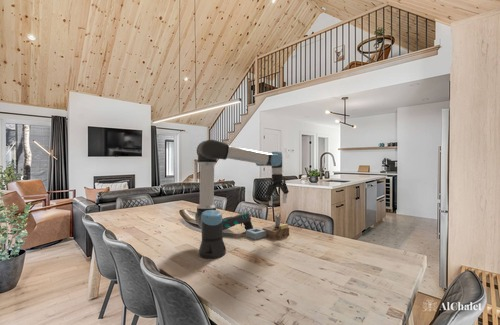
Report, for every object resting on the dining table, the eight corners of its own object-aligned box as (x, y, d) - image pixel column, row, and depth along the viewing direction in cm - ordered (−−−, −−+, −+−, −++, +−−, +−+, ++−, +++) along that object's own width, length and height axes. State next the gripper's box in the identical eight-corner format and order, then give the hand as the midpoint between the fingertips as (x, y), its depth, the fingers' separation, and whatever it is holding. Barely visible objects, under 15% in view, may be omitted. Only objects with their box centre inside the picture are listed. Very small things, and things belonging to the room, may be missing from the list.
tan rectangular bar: (281, 229, 163) (280, 225, 163) (278, 228, 164) (278, 225, 164) (288, 227, 167) (288, 224, 167) (286, 226, 169) (285, 223, 169)
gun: (254, 231, 172) (247, 211, 173) (215, 243, 174) (209, 224, 174) (254, 228, 179) (248, 209, 179) (217, 240, 181) (211, 221, 181)
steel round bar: (277, 235, 167) (277, 216, 167) (274, 234, 169) (274, 215, 169) (281, 234, 169) (281, 216, 169) (277, 233, 172) (277, 215, 171)
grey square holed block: (255, 239, 159) (255, 233, 159) (245, 236, 167) (245, 230, 167) (266, 236, 165) (266, 230, 165) (257, 233, 173) (256, 227, 173)
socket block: (274, 239, 159) (274, 231, 159) (262, 235, 168) (262, 227, 168) (289, 235, 168) (289, 227, 168) (276, 231, 177) (276, 224, 177)
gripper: (267, 175, 158) (268, 207, 158) (293, 172, 173) (293, 202, 174) (260, 174, 164) (260, 205, 164) (285, 172, 179) (286, 201, 180)
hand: (277, 204), depth 169 cm, fingers open, 13 cm apart
